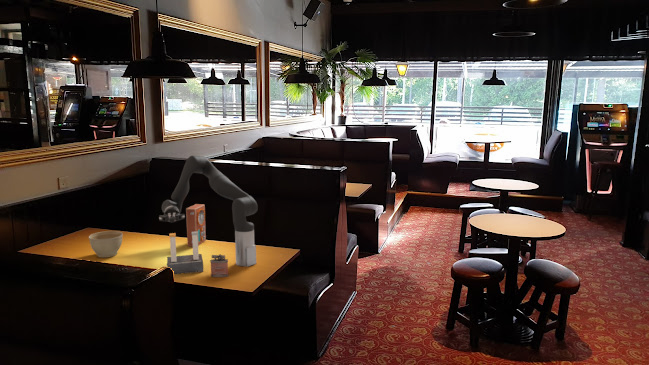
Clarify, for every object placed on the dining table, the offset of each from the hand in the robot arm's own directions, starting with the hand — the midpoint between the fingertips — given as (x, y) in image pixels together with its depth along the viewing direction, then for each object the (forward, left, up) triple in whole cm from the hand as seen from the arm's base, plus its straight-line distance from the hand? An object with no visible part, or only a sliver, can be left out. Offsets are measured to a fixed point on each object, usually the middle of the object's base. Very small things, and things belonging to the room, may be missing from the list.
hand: (172, 220), depth 235 cm
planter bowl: (+39, +13, -22) cm, 47 cm away
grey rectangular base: (-12, +2, -22) cm, 25 cm away
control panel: (+19, -29, -22) cm, 41 cm away
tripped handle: (-11, +8, -16) cm, 21 cm away
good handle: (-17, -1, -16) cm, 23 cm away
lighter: (-32, -2, -22) cm, 39 cm away
